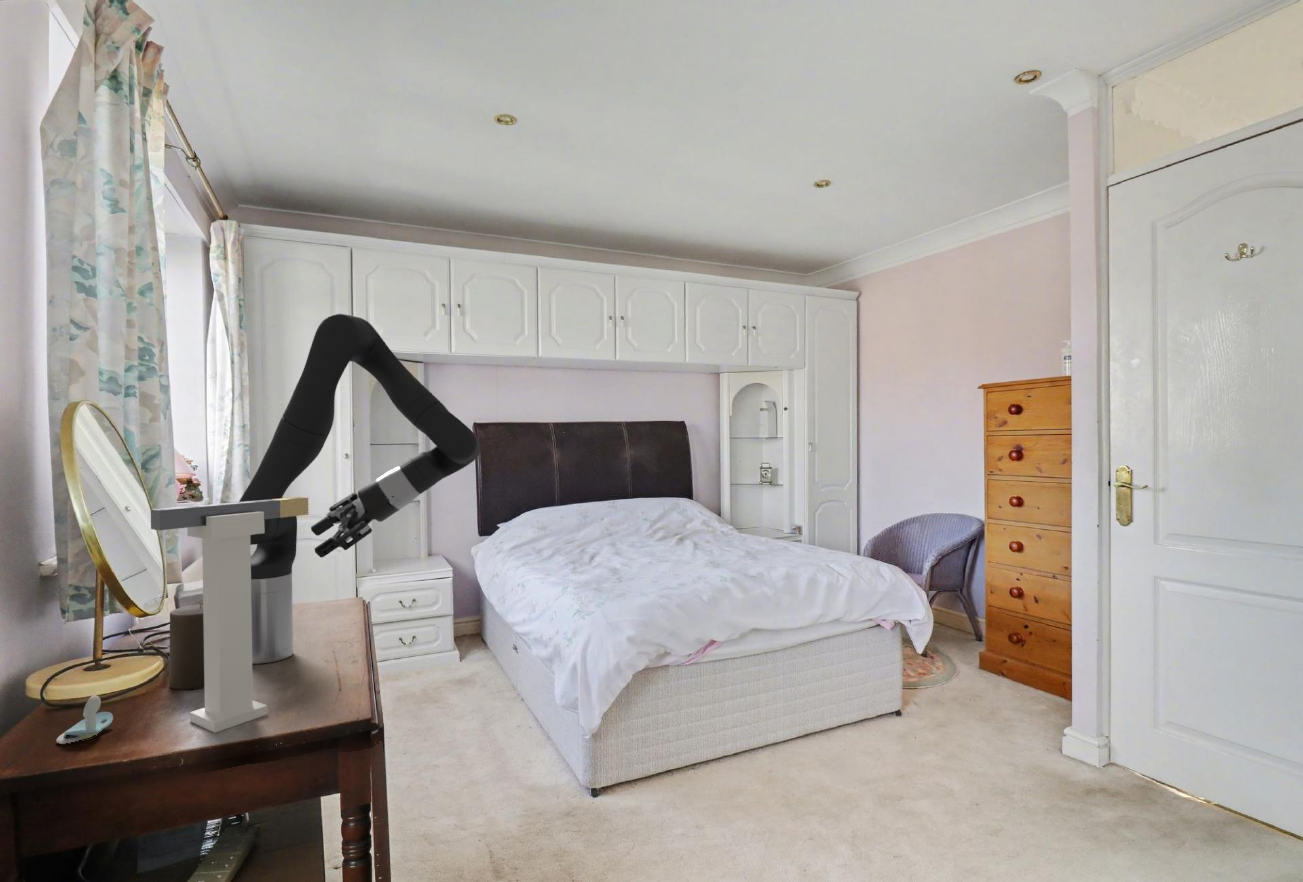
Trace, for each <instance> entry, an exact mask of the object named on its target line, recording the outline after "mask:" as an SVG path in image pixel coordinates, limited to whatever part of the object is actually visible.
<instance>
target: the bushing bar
mask: <svg viewBox="0 0 1303 882" xmlns="http://www.w3.org/2000/svg"><path fill="white" fill-rule="evenodd" d="M258 511H260V512H264V519H272V518H281V517H291V516H297V517H299V516H308V515H309V497H303V496H302V497H301V496H297V497H296V496H295V497H282V499H270V500H258V501H246V502H239V501H235V502H224V503H214V504H213V503H212V504H201V505H188V506H187V505H186V506H177V507H176V506H175V507H166V508H165V507H161V508H153V509H152V508H151V509H150V530H154V531H155V530H156V531H165V530H177V529H187V527H197V526H206V516H216V515H227V514H237V513H248V512H258Z"/></svg>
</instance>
